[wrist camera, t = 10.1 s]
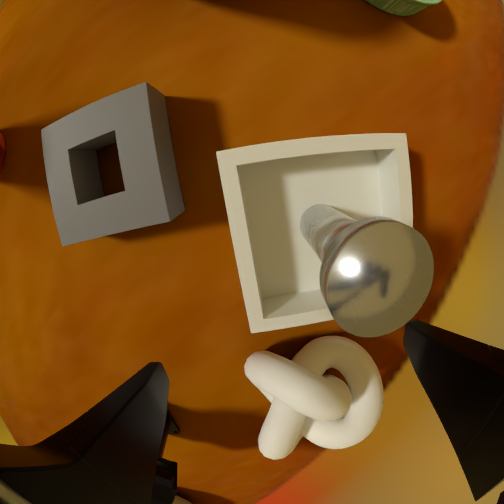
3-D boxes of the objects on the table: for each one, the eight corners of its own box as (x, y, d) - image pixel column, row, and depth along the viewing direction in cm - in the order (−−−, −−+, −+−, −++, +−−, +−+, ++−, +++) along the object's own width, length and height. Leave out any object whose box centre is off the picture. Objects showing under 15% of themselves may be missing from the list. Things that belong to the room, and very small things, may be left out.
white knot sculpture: (328, 410, 27) (344, 472, 18) (226, 397, 26) (219, 468, 17) (376, 335, 24) (415, 399, 15) (256, 311, 22) (259, 389, 14)
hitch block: (185, 210, 20) (170, 221, 16) (88, 232, 20) (62, 246, 16) (164, 95, 17) (146, 82, 13) (70, 132, 17) (40, 129, 14)
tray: (387, 280, 22) (409, 301, 18) (250, 305, 22) (251, 333, 18) (379, 137, 18) (405, 133, 14) (222, 154, 19) (215, 151, 15)
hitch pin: (352, 250, 20) (427, 321, 10) (292, 260, 20) (329, 348, 10) (347, 188, 18) (436, 215, 8) (284, 197, 19) (322, 233, 9)
